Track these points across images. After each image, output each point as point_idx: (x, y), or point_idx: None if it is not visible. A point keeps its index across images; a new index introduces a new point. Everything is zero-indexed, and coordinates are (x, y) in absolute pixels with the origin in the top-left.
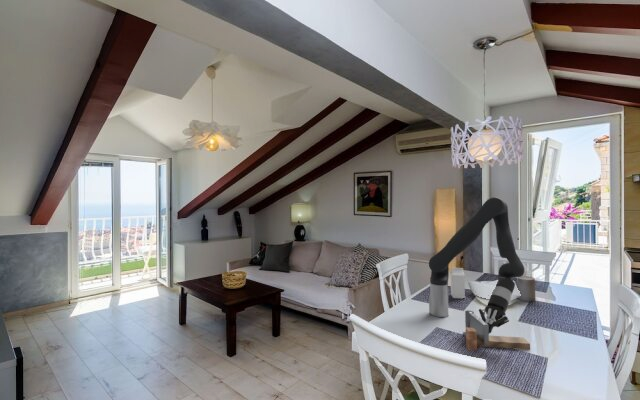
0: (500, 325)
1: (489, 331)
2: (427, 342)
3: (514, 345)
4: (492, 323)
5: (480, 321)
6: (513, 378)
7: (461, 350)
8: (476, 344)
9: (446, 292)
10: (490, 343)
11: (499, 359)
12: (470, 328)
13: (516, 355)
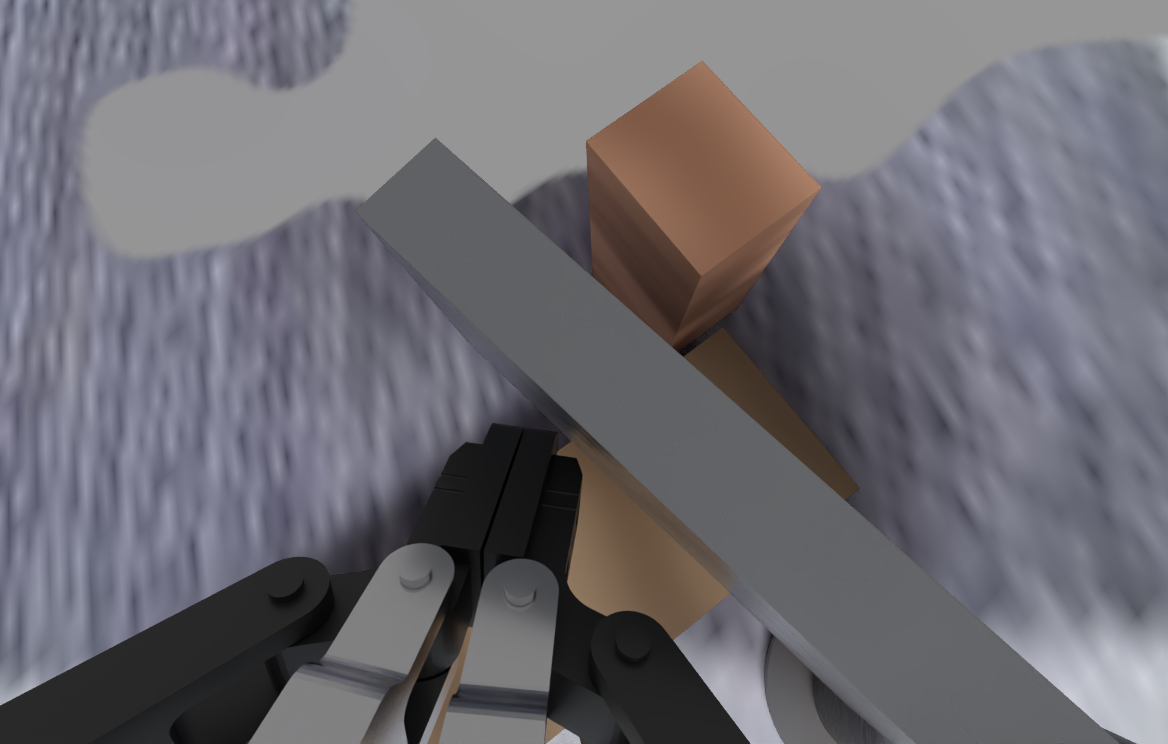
0: (228, 684)
1: (461, 453)
2: (1083, 74)
3: None
4: (378, 576)
5: (588, 296)
6: (174, 3)
7: None
8: (595, 244)
9: None
10: None
11: (343, 248)
12: (732, 203)
13: (213, 482)
